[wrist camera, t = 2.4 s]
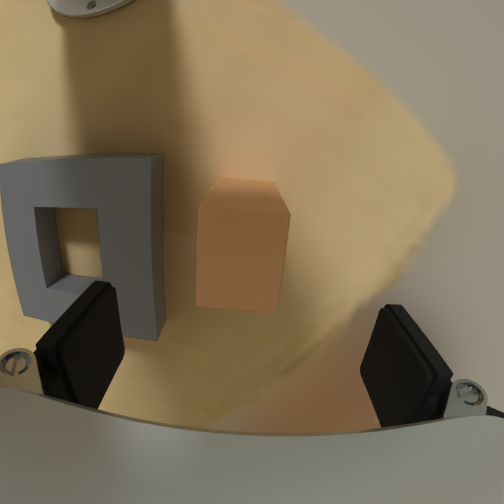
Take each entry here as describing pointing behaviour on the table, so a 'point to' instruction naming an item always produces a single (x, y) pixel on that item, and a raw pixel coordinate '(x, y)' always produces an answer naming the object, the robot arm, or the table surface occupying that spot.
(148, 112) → the table surface
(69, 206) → the socket plate
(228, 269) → the plug
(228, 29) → the table surface
